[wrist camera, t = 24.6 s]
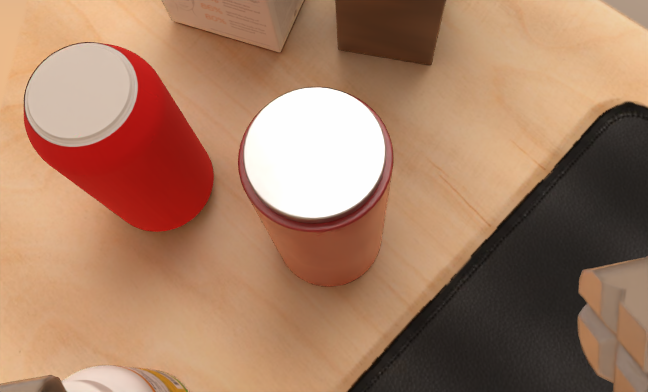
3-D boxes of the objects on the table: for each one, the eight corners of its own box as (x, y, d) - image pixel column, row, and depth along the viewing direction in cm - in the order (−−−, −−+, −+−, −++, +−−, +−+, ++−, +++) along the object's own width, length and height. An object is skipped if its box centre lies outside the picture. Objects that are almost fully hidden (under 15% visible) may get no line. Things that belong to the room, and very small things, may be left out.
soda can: (266, 274, 34) (216, 209, 22) (290, 177, 35) (257, 67, 24) (370, 296, 33) (377, 242, 21) (390, 196, 35) (407, 93, 23)
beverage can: (196, 123, 37) (124, 4, 26) (233, 210, 35) (173, 122, 24) (103, 164, 36) (-12, 60, 25) (136, 254, 34) (28, 185, 23)
